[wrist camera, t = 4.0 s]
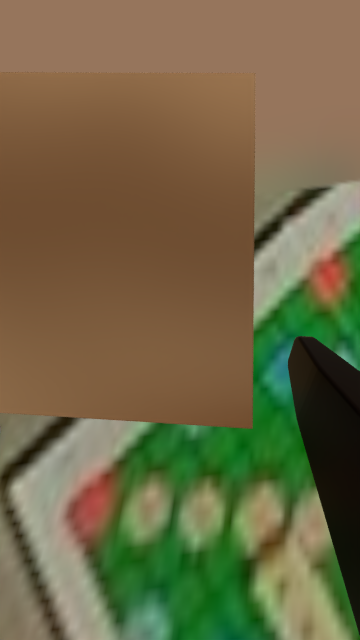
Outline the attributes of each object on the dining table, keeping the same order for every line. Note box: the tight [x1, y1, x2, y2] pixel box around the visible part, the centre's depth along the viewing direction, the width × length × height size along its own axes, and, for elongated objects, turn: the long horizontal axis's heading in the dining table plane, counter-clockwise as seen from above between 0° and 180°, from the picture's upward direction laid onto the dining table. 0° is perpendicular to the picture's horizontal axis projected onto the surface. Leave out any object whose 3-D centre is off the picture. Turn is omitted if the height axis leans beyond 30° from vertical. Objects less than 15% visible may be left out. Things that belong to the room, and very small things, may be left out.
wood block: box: [0, 72, 255, 429], centre depth 10 cm, size 5×5×13 cm
